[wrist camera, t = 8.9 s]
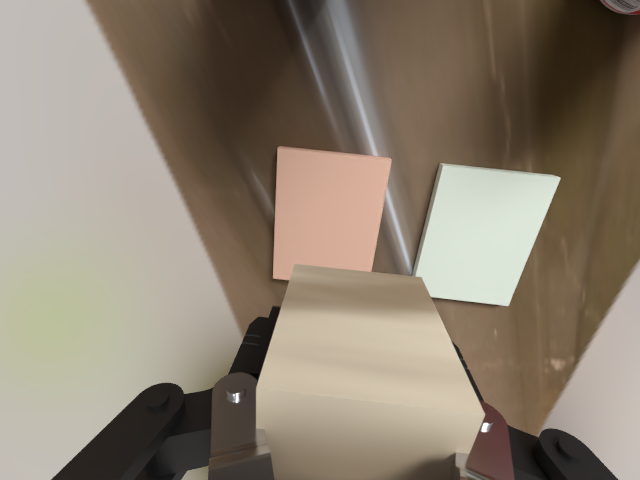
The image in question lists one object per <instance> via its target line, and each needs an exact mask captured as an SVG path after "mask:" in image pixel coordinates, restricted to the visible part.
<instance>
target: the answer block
mask: <svg viewBox="0 0 640 480" xmlns="http://www.w3.org/2000/svg"><path fill="white" fill-rule="evenodd" d="M484 417H485V413H484V411H483V409H482V407H481V404H480V402H479V400H478V398H477V396H476V394H475V391H474V389H473V387H472V385H471V383H470V381H469V378H468V376H467V374H466V372H465V370H464V368H463V366H462V363H461V361H460V359H459V357H458V355H457V353H456V350H455V348H454V346H453V344H452V342H451V340H450V337H449V335H448V333H447V331H446V329H445V327H444V325H443V322H442V320H441V318H440V316H439V314H438V312H437V309H436V307H435V305H434V303H433V301H432V299H431V297H430V294H429V292H428V290H427V288H426V286H425V284H424V281H423V279H422V277H416V276H406V275H397V274H387V273H377V272H368V271H358V270H348V269H339V268H329V267H319V266H310V265H300V264H294V268H293V271H292V274H291V277H290V280H289V284H288V287H287V290H286V293H285V297H284V300H283V303H282V306H281V309H280V313H279V316H278V319H277V322H276V325H275V329H274V332H273V335H272V338H271V342H270V345H269V348H268V351H267V354H266V358H265V361H264V364H263V367H262V371H261V374H260V377H259V380H258V383H257V387H256V428H258V429H265V435H266V442H267V444H269V448H270V453H271V460H272V467H273V473H274V480H450V477H451V464H452V461H453V459H454V456H455V454H456V452H458V453H466V454H469V453H470V451H471V449H472V446H473V444H474V441H475V439H476V436H477V434H478V431H479V429H480V426H481V424H482V422H483V419H484Z"/></svg>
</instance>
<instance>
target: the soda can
mask: <svg viewBox="0 0 640 480" xmlns="http://www.w3.org/2000/svg"><path fill="white" fill-rule="evenodd" d="M600 1H601V2H602V3H603V4H604V5H605V6H606V7H607V8H609V9H611V10H612V11H614V12H617V13H621V14H628V15H637V14H640V0H600Z"/></svg>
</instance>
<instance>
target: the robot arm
mask: <svg viewBox="0 0 640 480" xmlns="http://www.w3.org/2000/svg"><path fill="white" fill-rule="evenodd" d="M280 309H281V306H273V307H272V310H271V312H270V315H269V318H266V317H258V318H256V319H255V320H254V321H253V322H252V323H251V324H250V325H249V327H248V330H247V332H246V335H245V337H244V339H243V341H242V344H241V346H240V348H239V351H238V353H237V356H236V358H235V360H234V362H233V365H232V367H231V369H230V372H229V374H228V375H227V376H224V377H223V378H221V379H220V380H219V381H218V382H217V383H216V384H215V386H214V387H213V388H211V389H209V390H205V391H201V392H195V393H189V394H184V393H183V390H182V389H181V387H179V386H178V385H176V384H173V383H161V384H157V385H153V386H151V387H149V388H147V389H145V390H144V391H142V392H141V393H140V394H139V395H138V396H137V397H136V398H135V399H134V400H133V401H132V402H131V403H130V404H129V405H128V406H126V407H125V409H123V410H122V412H120V413H119V414H118V415H117V416H116V417H115V418H114V419H113V420H112V421H111V422H110V423H109V424H108V425H107V426H106V427H105V428H104V429H103V430H102V431H101V432H100V433H99V434H98V435H97V436H96V437H95V438H94V439H93V440H92V441H91V442H90V443H89V444H87V446H86V447H84V448H83V449H82V450H81V452H79V453H78V454H77V455H76V456H75V457H74V458H73V459H72V460H71V461H70V462H69V463H68V464H67V465H66V466H65V467H64V468H63V469H62V470H61V471H60V472H59V473H58V474H57V475H56V476H55V477H53V479H52V480H181V479H182V477H183V476H184V474H185V473H186V471H188V470H192V469H196V468H201V467H204V466H209V472H208V473H209V474H208V480H274V473H273V467H272V460H271V453H270V448H269V444H267V442H266V435H265V429H258V428H256V387H257V383H258V380H259V377H260V374H261V371H262V367H263V364H264V361H265V358H266V354H267V351H268V348H269V345H270V342H271V338H272V335H273V332H274V329H275V325H276V322H277V319H278V316H279V313H280ZM451 342H452V341H451ZM452 344H453V346H454V348H455V350H456V353H457V355H458V357H459V359H460V361H461V363H462V366H463V368H464V370H465V372H466V374H467V376H468V378H469V381H470V383H471V385H472V387H473V389H474V391H475V394H476V396H477V398H478V400H479V402H480V404H481V407H482V409H483V411H484V413H485V417H484V419H483V422H482V424H481V426H480V429H479V431H478V434H477V436H476V439H475V441H474V444H473V446H472V449H471V451H470V453H469V454H466V453H458V452H456V454H455V456H454V459H453V461H452V464H451V477H450V480H618V479H617V478H616V477H615V476H614V475H613V474H612V472H610V470H609V469H608V468H607V467H606V466H605V465H604V464H603V463H602V462H601V461H600V460H599V459H598V458H597V457H596V456H595V454H594V453H592V451H591V450H590V449H589V448H588V447H587V446H586V445H585V444H583V443H582V442H581V441H580V440H578V439H577V438H575V437H574V436H572V435H570V434H568V433H566V432H564V431H561V430H558V429H545V430H543V431H542V432H541V434H540V436H539V437H536V436H533V435H531V434H528V433H525V432H523V431H520V430H518V429H515V428H513V427H511V426H509V425H507V423H506V421H505V419H504V418H503V416H502V415H501V414H500V413H499V412H498V411H497V410H496V409H495V408H493V407H492V406H490V405H489V404H487V403H485V402H484V400H483V398H482V396H481V394H480V392H479V390H478V388H477V386H476V384H475V382H474V380H473V377H472V375H471V373H470V371H469V369H467V365H466V363H465V361H464V360H463V357H462V355H461V352H460V350H459V348H458V347H457V346H456V345H455V344H454V343H453V342H452Z"/></svg>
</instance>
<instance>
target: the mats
mask: <svg viewBox="0 0 640 480" xmlns="http://www.w3.org/2000/svg"><path fill="white" fill-rule="evenodd" d="M391 161H392V160H391V158H388V157H378V156H369V155H359V154H350V153H340V152H331V151H321V150H312V149H302V148H293V147H283V146H279V147H278V150H277V178H276V207H275V235H274V263H273V278H274V279H282V280H290V277H291V274H292V271H293V268H294V264H300V265H310V266H319V267H329V268H339V269H348V270H358V271H368V272H371V271H372V265H373V260H374V254H375V249H376V243H377V238H378V232H379V227H380V221H381V216H382V210H383V205H384V199H385V194H386V188H387V183H388V178H389V172H390V167H391ZM559 181H560V177H557V176H554V175H548V174H539V173H530V172H520V171H511V170H501V169H492V168H482V167H473V166H463V165H454V164H444V163H440V164H439V168H438V172H437V176H436V180H435V184H434V188H433V192H432V196H431V200H430V204H429V208H428V213H427V217H426V221H425V225H424V229H423V233H422V237H421V241H420V245H419V249H418V253H417V257H416V261H415V265H414V270H413V274H412V276H416V277H422V279H423V281H424V284H425V286H426V288H427V290H428V292H429V294H430V297H436V298H444V299H453V300H461V301H470V302H478V303H487V304H495V305H504V306H508V305H509V303H510V300H511V298H512V295H513V293H514V291H515V288H516V286H517V283H518V281H519V278H520V276H521V274H522V271H523V269H524V266H525V264H526V261H527V259H528V256H529V254H530V252H531V249H532V247H533V244H534V242H535V239H536V237H537V234H538V232H539V230H540V227H541V225H542V222H543V220H544V217H545V215H546V212H547V210H548V208H549V205H550V203H551V200H552V198H553V195H554V193H555V191H556V188H557V186H558V183H559Z"/></svg>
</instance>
